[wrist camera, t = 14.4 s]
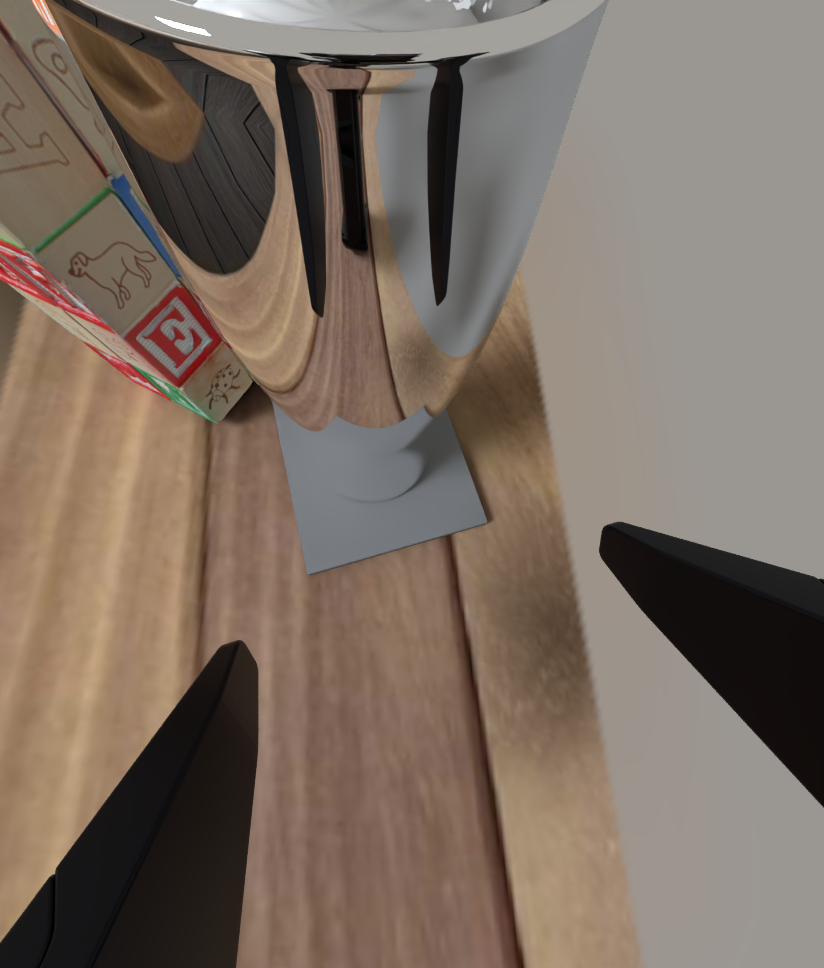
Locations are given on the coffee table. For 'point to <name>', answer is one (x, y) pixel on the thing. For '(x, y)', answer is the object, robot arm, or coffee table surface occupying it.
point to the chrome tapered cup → (339, 187)
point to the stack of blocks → (94, 234)
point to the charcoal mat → (377, 525)
